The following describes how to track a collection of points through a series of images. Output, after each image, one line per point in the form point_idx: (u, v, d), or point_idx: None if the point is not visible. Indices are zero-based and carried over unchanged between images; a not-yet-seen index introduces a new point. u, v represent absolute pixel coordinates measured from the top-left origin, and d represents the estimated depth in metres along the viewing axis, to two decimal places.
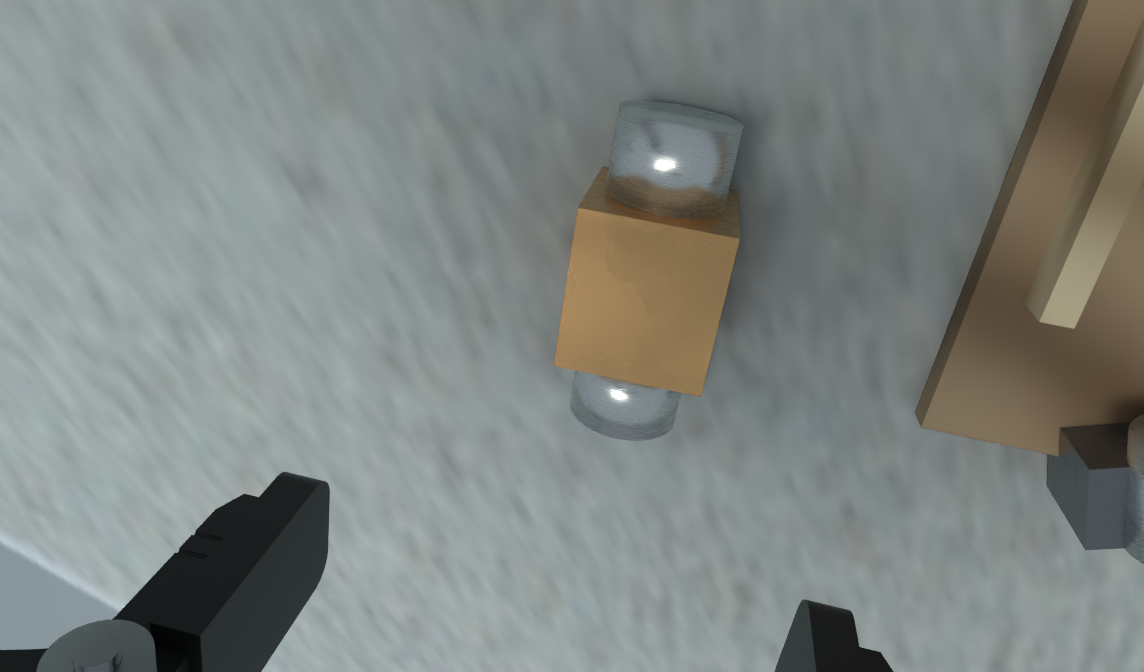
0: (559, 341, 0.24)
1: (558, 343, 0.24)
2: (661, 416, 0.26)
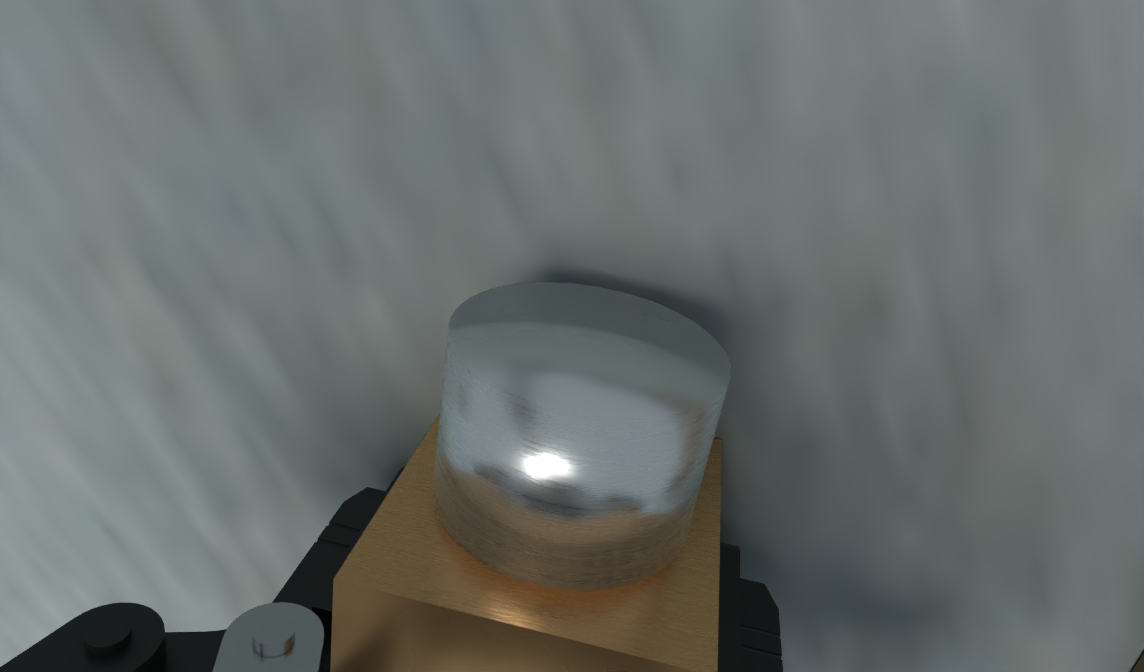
0: None
1: None
2: None
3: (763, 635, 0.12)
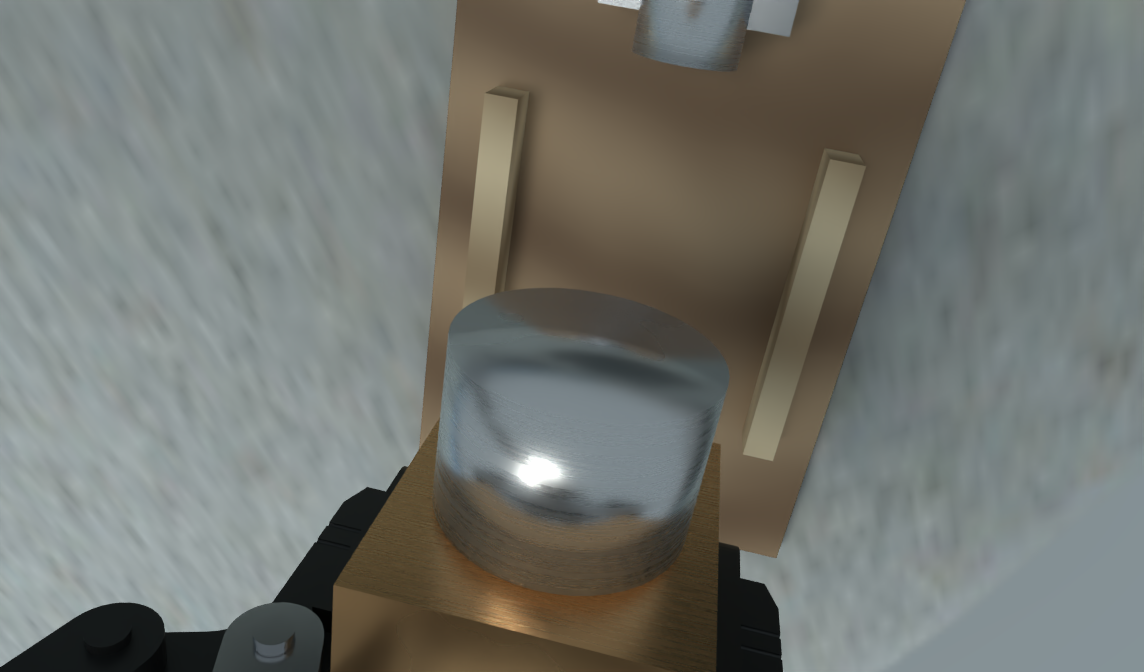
0: None
1: None
2: None
3: (763, 635, 0.12)
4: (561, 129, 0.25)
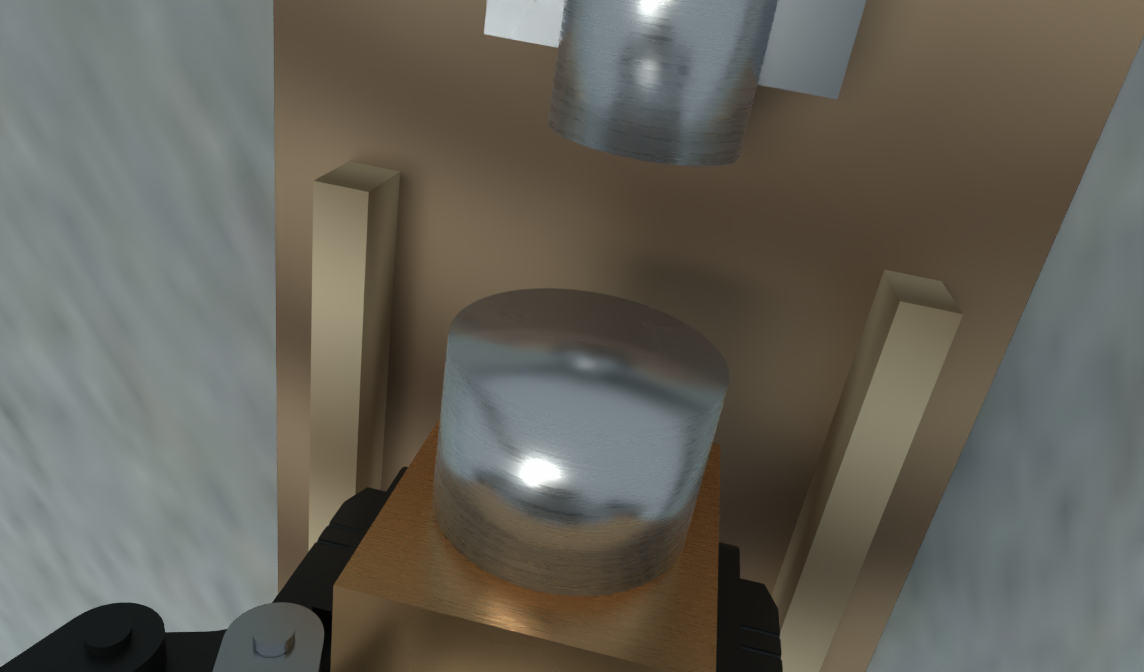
0: None
1: None
2: None
3: (763, 635, 0.12)
4: (454, 230, 0.16)
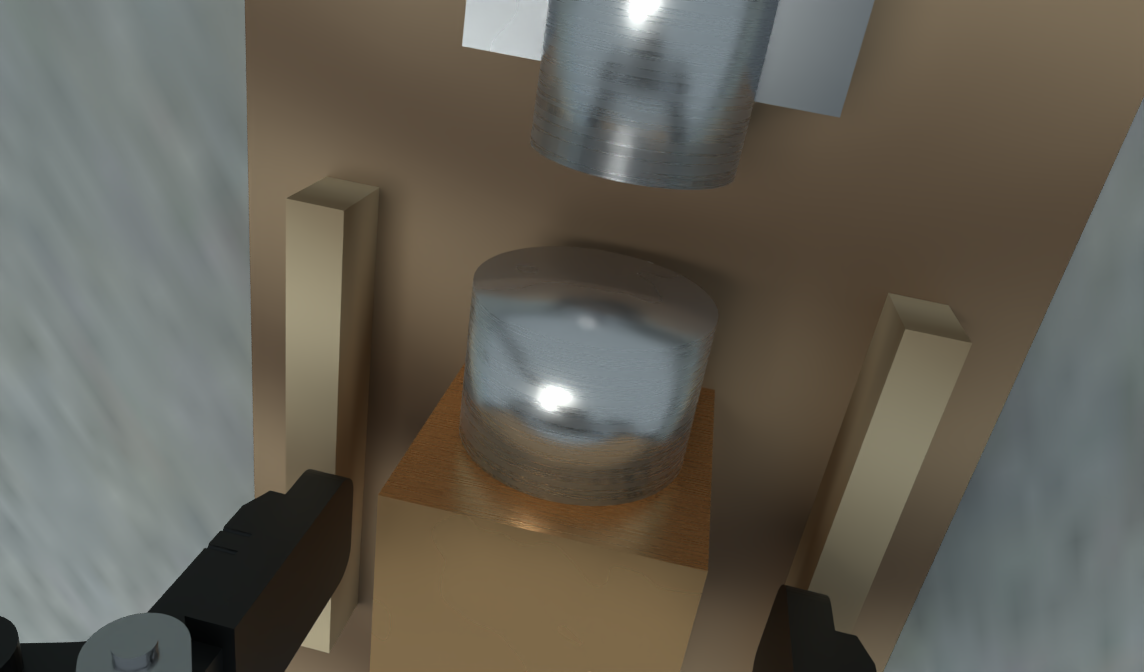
0: None
1: None
2: None
3: None
4: (436, 249, 0.15)
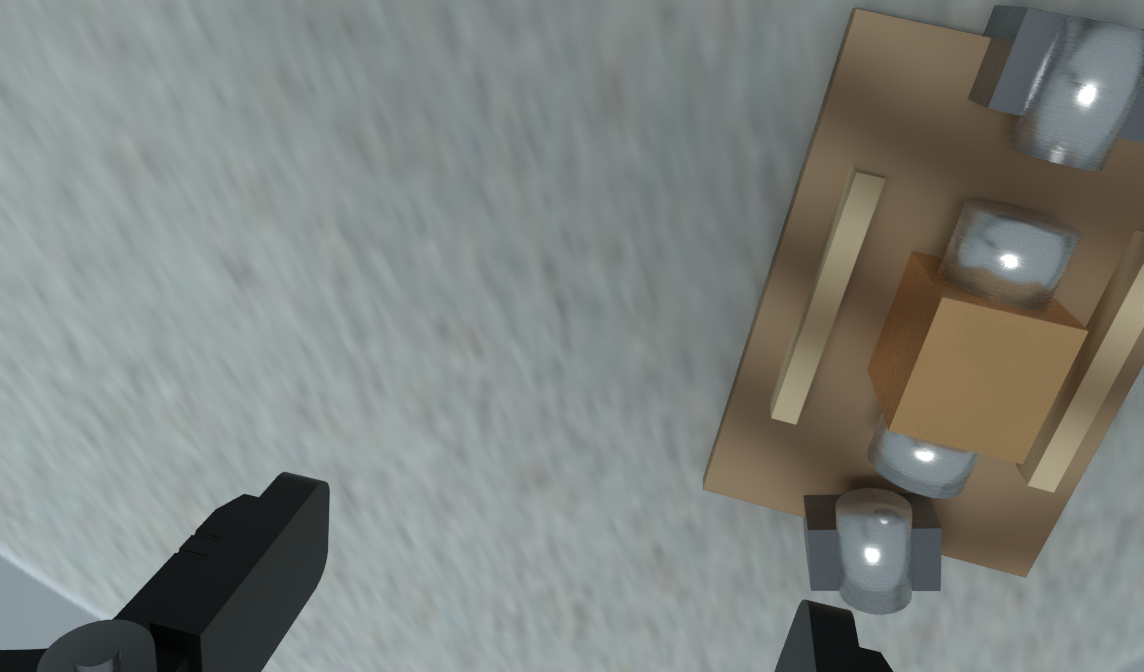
0: (898, 410, 0.28)
1: (898, 411, 0.28)
2: (966, 477, 0.29)
3: None
4: (901, 202, 0.30)
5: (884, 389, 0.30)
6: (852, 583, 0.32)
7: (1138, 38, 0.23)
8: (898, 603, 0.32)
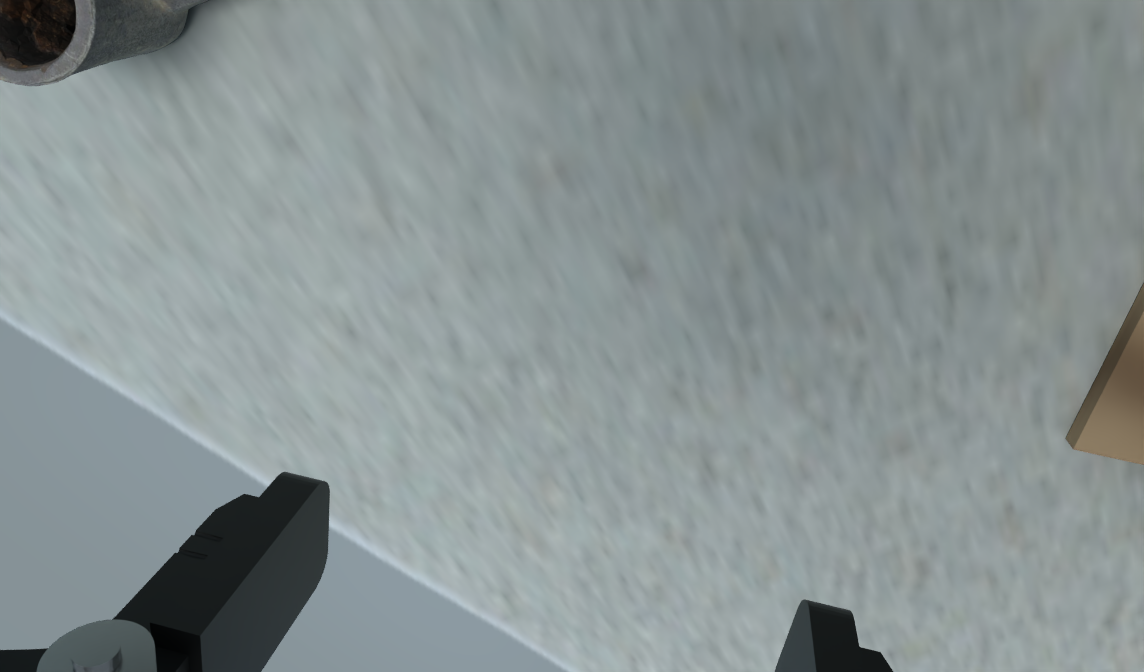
0: None
1: None
2: None
3: None
4: None
5: None
6: None
7: None
8: None
